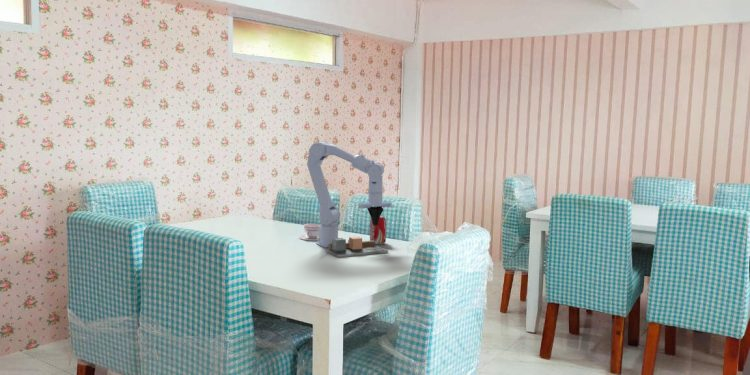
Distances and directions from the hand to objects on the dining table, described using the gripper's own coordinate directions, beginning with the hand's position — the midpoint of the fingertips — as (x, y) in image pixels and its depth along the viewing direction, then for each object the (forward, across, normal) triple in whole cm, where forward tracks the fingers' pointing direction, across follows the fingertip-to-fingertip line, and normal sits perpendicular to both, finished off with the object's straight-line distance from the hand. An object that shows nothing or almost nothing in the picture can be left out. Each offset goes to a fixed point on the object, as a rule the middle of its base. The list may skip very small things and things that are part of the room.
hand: (375, 224), depth 265 cm
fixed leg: (+9, -18, -3) cm, 20 cm away
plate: (+10, -10, -4) cm, 15 cm away
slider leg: (+9, -11, -3) cm, 14 cm away
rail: (+10, -10, +1) cm, 14 cm away
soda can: (+10, +6, +9) cm, 15 cm away
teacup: (+10, -16, +32) cm, 37 cm away
